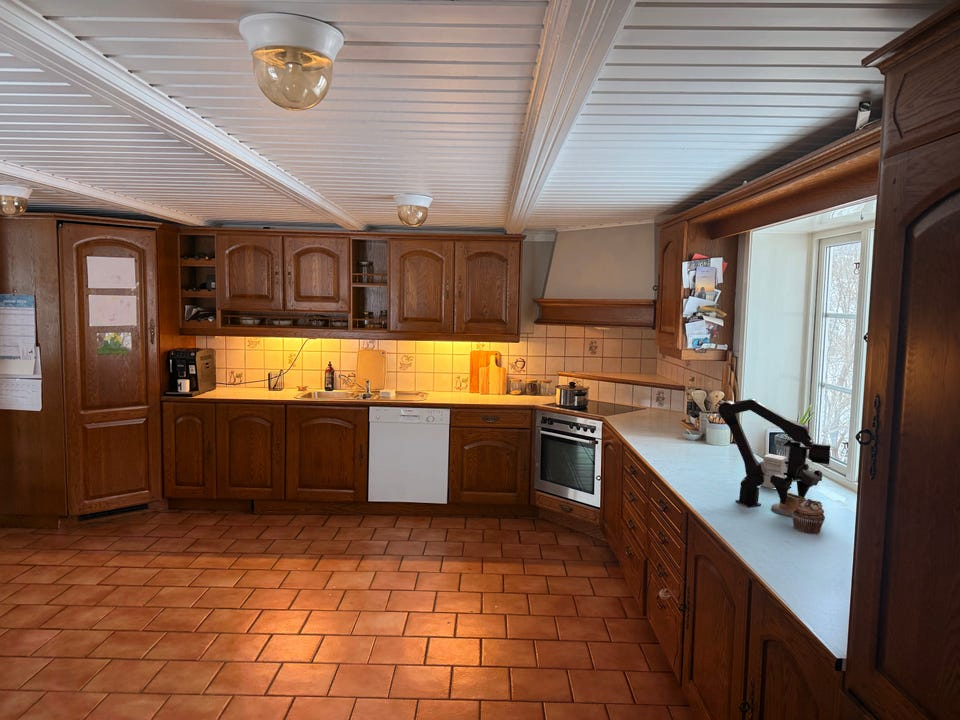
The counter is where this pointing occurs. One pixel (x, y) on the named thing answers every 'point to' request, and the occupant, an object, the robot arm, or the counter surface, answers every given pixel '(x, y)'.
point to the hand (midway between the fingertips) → (792, 502)
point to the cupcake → (808, 517)
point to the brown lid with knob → (781, 510)
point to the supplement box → (773, 467)
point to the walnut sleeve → (792, 502)
